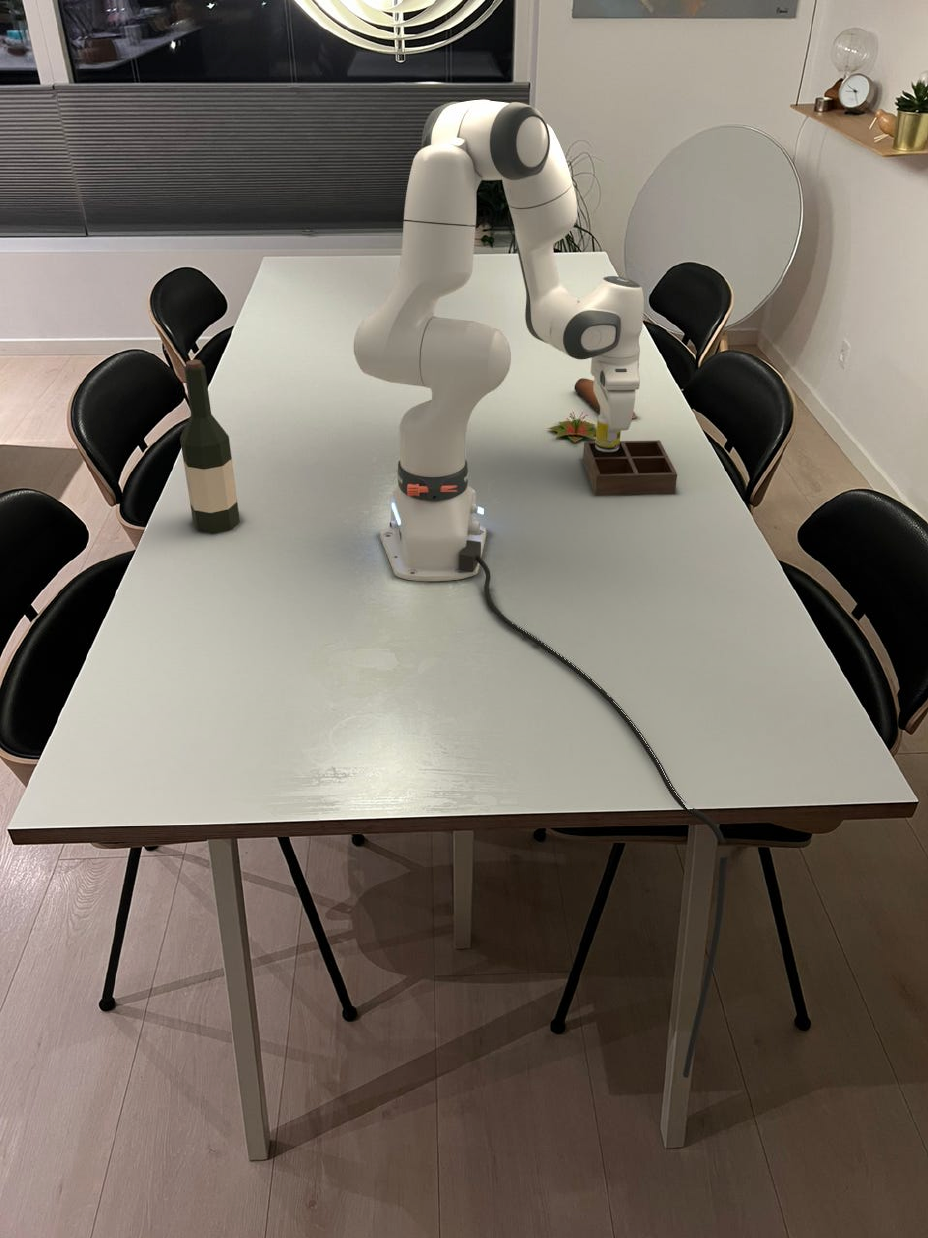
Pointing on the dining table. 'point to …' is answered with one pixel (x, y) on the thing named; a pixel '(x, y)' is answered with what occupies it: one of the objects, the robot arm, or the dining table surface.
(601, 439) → the supplement bottle
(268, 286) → the dining table surface
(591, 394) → the sunglasses case
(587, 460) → the wooden compartment tray
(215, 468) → the wine bottle
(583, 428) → the lily flower
